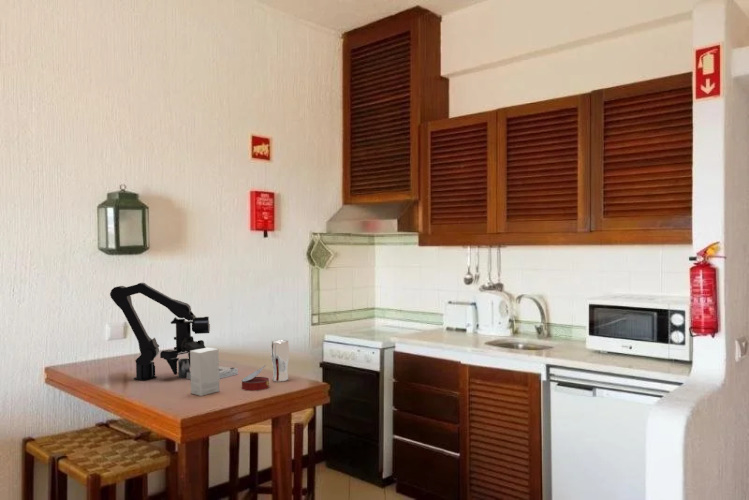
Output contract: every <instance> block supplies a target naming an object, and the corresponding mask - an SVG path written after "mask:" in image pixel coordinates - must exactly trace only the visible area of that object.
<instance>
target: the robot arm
mask: <svg viewBox="0 0 749 500" xmlns="http://www.w3.org/2000/svg"><path fill="white" fill-rule="evenodd" d="M136 294H142V295H143V296H145V297H147V298H149V299H150V300H152V301H153V302H156V303H158V304H159V305H162V306H164V307H166V309H168V310H169V312H170V313H172V314H173V315H174V316H175V317H174V318H173V320H171V321H170V324H171V325H174V324H175V336H173V340H174V341H175V347H173V349H165V350H161V352H160V348H159V347H160V345H159V344H158V341H157V339H156V337H153V338H151V337H150V336H149V335H148V332H147V331H146V329H145V327H144V324H143V323H142V321H141V319H140V317H139V315H138V313H137V311H136V310H135V308H134V306H133V303H132V302H133V301H132V296H133V295H136ZM109 296H110V299H111V300H112V301H113V302H114V303H115V305H116V306H117V307H118V308H119V309H120V310H121V311H122V313H123V315H124V317H125V319H126V320H127V322H128V325H129V326H130V328H131V330H132V332H133V334H134V336H135V338H136V340H137V343H138V349H139V352H140V355H139V356H138V357H137V358H136V359H135V360H134V361H135V377H133V380H138V381H147V380H152V379H157V378H158V376H157V375H156V365H155V361H154V359H155V358H156V357H157V356H158V355H159V353H160V355H159V357H160V359H163V360H165V361H166V363H167V364H168V365H169V367H170V369H171V371H172V373H173V375H175V376H178V375H177V374H178V360H179V359H180V358H179V357H178V356H179V355H184V354H187V357H188V359H190V351H192V350H197V349H202V348H207V347H206V346H205V341H204V340H203V339H199V340H198V341H195V340H194V336H192V333H191V332H193V333H194V334H195V335H196V334H197V335H198V334H200V335H201V334H210V331H211V324H210V320H209V319H210V318H209V316H203V317H202V316H200V317H199V316H198V317H197V316H196V315H195V314H194V313H193V311H192V307H191V305H190V304H189V303H187V302H185V301H181V300H178V299H174V298H171V297H170V296H167V295H166V294H165V293H163V292H161V291H159V290H156V289H155V288H153V287H152V286H150V285H148V284H147V283H146V282H139V283H137V284H133V285H129V286H124V285H119V286H115V287H113V288H112V289H111V290H110V293H109Z"/></svg>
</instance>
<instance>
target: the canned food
mask: <svg viewBox="0 0 749 500" xmlns="http://www.w3.org/2000/svg"><path fill="white" fill-rule="evenodd" d="M265 367H266V364H264V365H263V366H262V367H260V368H259V369H256V370H255V371H254V372H252V373H250V374H248V375H247V376H246V377H244V378H243V379H242V380H241V389H242V390H244V391H262V389H263V390H266V389H268V388H270V387H269V386H270V381H269V378H268V377H266V376H258V375H260V373H261V372H262V370H263V369H264V368H265Z"/></svg>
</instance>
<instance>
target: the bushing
mask: <svg viewBox="0 0 749 500" xmlns="http://www.w3.org/2000/svg"><path fill="white" fill-rule="evenodd" d="M187 372H191V371H190V359H189V358H185V357H184V358H179V359H178V361H177V374H178V375H177V376H178V378H179V379H185V378H186V379H187Z"/></svg>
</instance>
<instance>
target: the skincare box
mask: <svg viewBox="0 0 749 500" xmlns="http://www.w3.org/2000/svg"><path fill="white" fill-rule="evenodd" d="M219 350H220V349H219V348H215V347H211V346H210V347H209V346H207V347H206V348H202V349H197V350H192V351H190V372H191V379H190V394H191V395H196V396H199V397H202V396H206V395H210V394H214V393H217V392H218V393H219V392H220V379H219V366H220V364H219V363H220V361H219V359H220V358H219Z"/></svg>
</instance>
